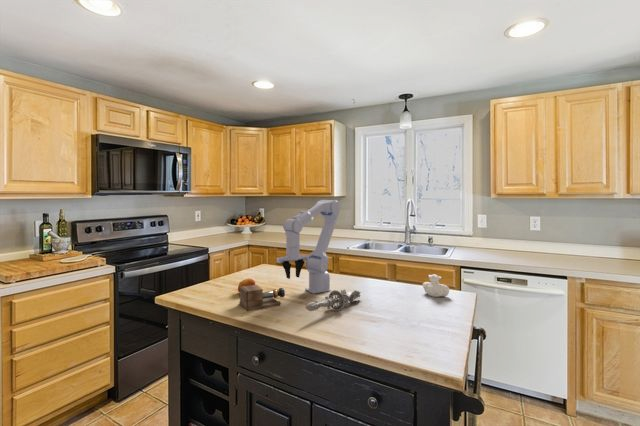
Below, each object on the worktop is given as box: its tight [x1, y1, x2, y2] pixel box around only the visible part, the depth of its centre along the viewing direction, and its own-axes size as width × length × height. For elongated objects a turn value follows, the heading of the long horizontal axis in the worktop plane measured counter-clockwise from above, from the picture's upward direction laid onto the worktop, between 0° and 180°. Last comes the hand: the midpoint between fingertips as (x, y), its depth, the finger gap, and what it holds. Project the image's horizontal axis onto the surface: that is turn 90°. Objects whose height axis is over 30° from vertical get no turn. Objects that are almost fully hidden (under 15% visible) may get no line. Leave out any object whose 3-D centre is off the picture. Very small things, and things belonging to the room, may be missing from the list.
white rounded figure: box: [421, 273, 450, 298], centre depth 147 cm, size 12×8×11 cm
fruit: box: [237, 277, 256, 293], centre depth 150 cm, size 8×8×8 cm
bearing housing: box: [239, 284, 281, 312], centre depth 135 cm, size 14×10×8 cm
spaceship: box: [305, 289, 362, 312], centre depth 129 cm, size 8×35×8 cm
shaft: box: [263, 287, 286, 299], centre depth 137 cm, size 12×4×4 cm, turn 120°
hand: (292, 277), depth 142 cm, fingers open, 4 cm apart
